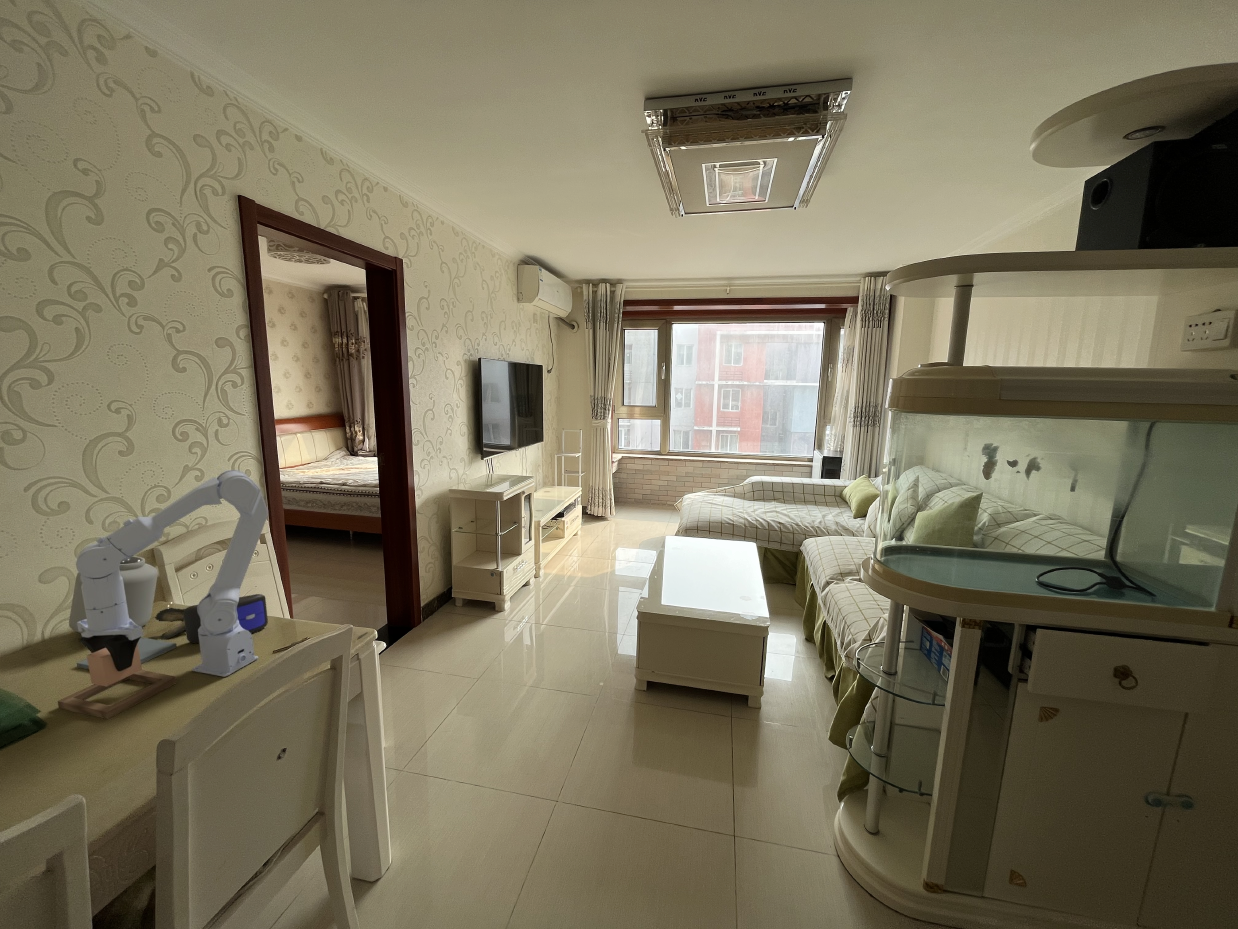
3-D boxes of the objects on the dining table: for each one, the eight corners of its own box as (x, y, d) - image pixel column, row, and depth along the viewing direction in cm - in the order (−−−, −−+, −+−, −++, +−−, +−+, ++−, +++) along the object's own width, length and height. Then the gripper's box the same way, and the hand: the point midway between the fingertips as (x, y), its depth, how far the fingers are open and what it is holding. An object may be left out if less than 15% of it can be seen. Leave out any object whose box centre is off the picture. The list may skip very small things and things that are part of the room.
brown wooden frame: (176, 683, 106) (175, 676, 106) (107, 719, 94) (106, 712, 94) (130, 674, 109) (130, 667, 109) (58, 708, 97) (57, 701, 97)
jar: (172, 607, 141) (161, 522, 137) (175, 626, 130) (162, 534, 126) (74, 629, 128) (58, 535, 124) (68, 651, 117) (50, 550, 113)
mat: (176, 647, 120) (176, 643, 120) (117, 674, 108) (116, 670, 108) (139, 640, 123) (138, 636, 122) (77, 667, 111) (76, 662, 111)
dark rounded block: (185, 650, 119) (180, 613, 117) (188, 642, 123) (183, 605, 121) (268, 632, 128) (264, 597, 126) (268, 625, 131) (265, 591, 130)
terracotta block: (141, 669, 103) (137, 642, 102) (106, 686, 97) (101, 658, 97) (127, 667, 104) (123, 640, 103) (91, 683, 98) (86, 655, 97)
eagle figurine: (195, 615, 134) (151, 622, 126) (204, 596, 132) (159, 602, 124) (203, 637, 131) (158, 646, 123) (212, 618, 129) (167, 626, 121)
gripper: (52, 608, 96) (64, 672, 98) (108, 617, 93) (119, 683, 95) (98, 593, 103) (108, 654, 105) (151, 601, 100) (160, 663, 102)
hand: (116, 667), depth 101 cm, fingers closed on terracotta block, 4 cm apart
